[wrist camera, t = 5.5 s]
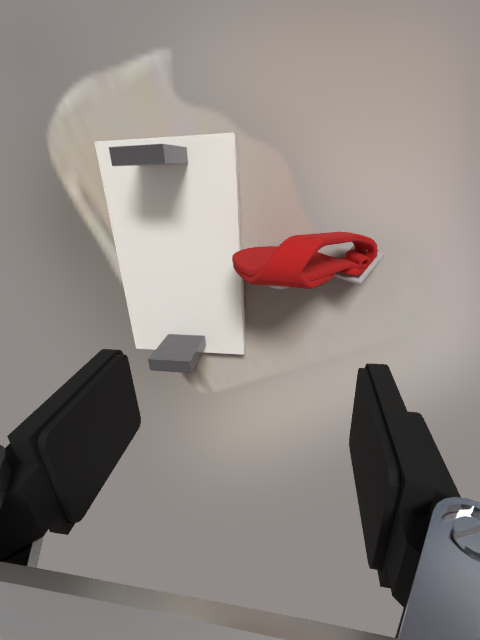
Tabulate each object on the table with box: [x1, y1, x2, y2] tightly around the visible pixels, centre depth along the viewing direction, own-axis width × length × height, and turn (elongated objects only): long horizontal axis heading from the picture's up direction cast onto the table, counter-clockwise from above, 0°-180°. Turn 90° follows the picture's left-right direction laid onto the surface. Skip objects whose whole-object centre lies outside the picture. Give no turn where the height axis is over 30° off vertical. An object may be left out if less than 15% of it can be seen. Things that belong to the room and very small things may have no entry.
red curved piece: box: [232, 232, 384, 289], centre depth 25 cm, size 12×4×10 cm, turn 88°
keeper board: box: [95, 133, 246, 373], centre depth 29 cm, size 12×20×6 cm, turn 3°
